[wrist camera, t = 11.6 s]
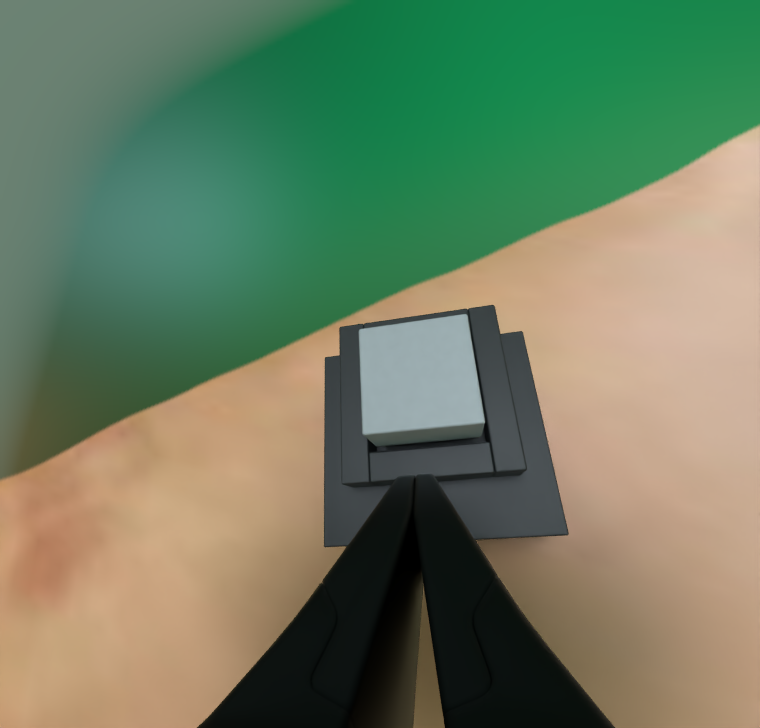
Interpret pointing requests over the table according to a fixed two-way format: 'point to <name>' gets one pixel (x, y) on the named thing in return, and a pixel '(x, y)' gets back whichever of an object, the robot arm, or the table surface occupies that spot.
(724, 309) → the table surface
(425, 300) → the table surface
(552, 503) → the stepped grey pedestal
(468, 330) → the pad
